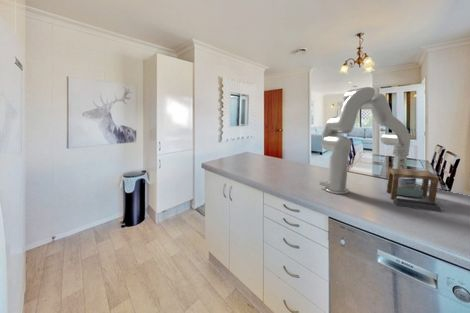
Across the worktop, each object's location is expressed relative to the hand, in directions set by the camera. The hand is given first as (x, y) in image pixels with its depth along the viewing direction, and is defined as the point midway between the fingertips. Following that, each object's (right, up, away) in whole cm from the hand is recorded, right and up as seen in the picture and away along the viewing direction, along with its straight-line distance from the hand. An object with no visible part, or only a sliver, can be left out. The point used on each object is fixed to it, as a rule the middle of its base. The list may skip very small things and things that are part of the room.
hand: (397, 181), depth 134 cm
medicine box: (-8, -5, -16) cm, 18 cm away
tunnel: (-11, -6, -23) cm, 26 cm away
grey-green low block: (-5, -3, -10) cm, 12 cm away
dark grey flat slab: (-17, -7, -33) cm, 38 cm away
